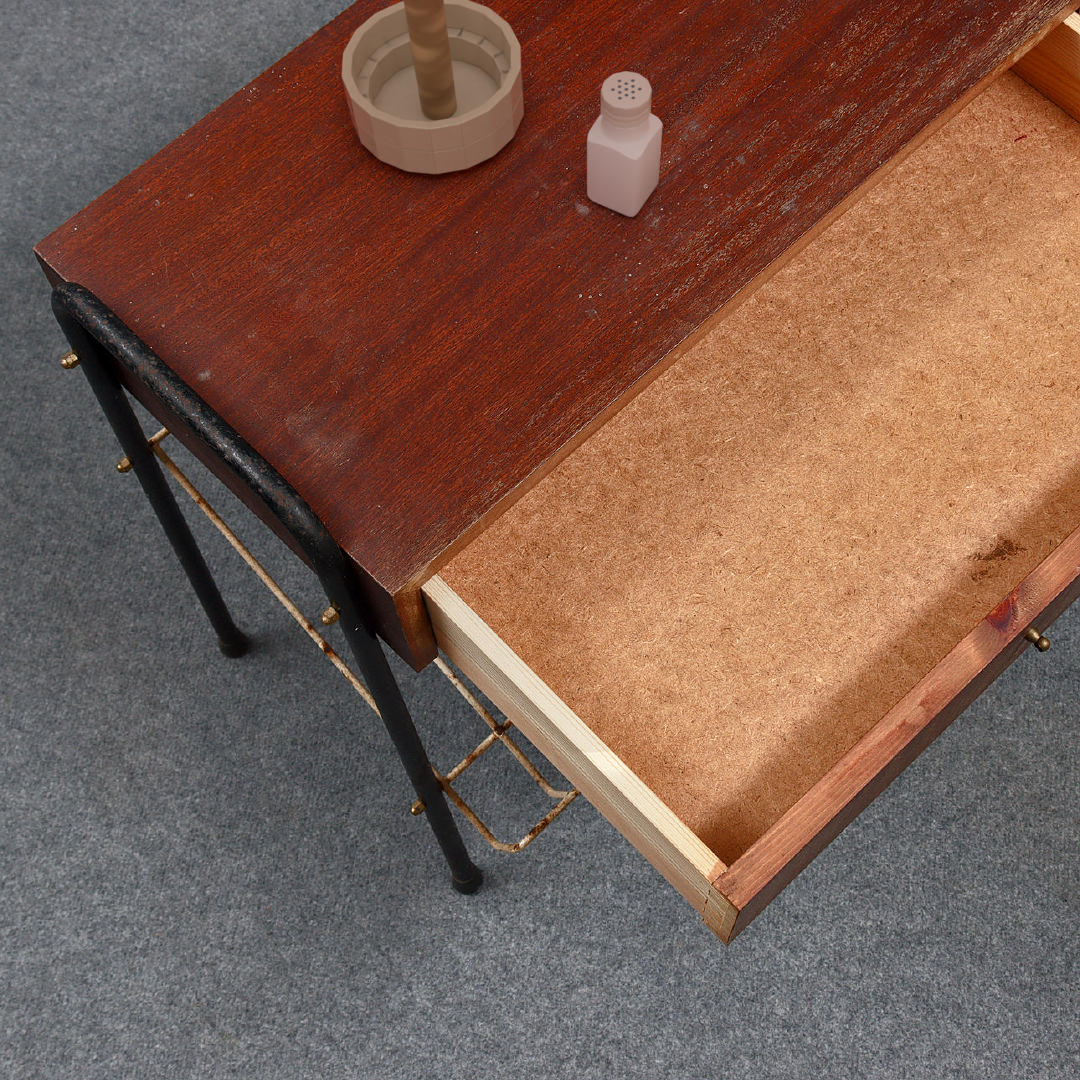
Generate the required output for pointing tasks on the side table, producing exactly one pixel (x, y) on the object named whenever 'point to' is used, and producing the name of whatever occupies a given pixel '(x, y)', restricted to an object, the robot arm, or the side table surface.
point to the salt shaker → (624, 145)
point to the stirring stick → (431, 57)
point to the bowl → (393, 99)
